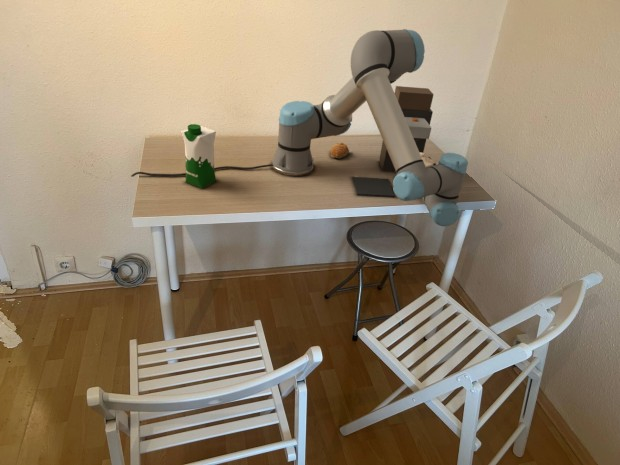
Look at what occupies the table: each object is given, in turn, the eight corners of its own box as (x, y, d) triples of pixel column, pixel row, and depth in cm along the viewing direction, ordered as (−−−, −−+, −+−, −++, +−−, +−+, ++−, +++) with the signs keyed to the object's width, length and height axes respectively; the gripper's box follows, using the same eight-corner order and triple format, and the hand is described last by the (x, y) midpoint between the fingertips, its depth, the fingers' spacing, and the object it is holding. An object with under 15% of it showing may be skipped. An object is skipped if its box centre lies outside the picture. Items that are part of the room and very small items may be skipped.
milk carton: (181, 182, 157) (178, 124, 147) (200, 173, 164) (198, 117, 153) (202, 190, 154) (199, 132, 143) (220, 181, 161) (219, 124, 150)
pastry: (343, 161, 184) (344, 152, 182) (326, 157, 185) (327, 148, 183) (349, 152, 191) (350, 143, 189) (333, 149, 193) (334, 140, 191)
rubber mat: (394, 197, 162) (394, 195, 162) (357, 195, 161) (357, 193, 161) (387, 180, 173) (387, 178, 173) (352, 178, 172) (352, 176, 172)
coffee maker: (424, 184, 173) (444, 103, 156) (387, 182, 171) (403, 100, 155) (413, 164, 187) (430, 88, 171) (378, 162, 186) (392, 85, 170)
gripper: (395, 199, 145) (382, 167, 164) (463, 203, 147) (442, 171, 166) (400, 177, 141) (386, 147, 160) (469, 182, 143) (447, 151, 162)
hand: (414, 159), depth 163 cm, fingers closed on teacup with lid, 9 cm apart
